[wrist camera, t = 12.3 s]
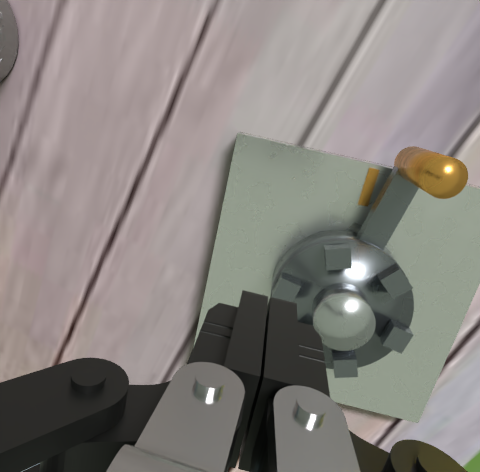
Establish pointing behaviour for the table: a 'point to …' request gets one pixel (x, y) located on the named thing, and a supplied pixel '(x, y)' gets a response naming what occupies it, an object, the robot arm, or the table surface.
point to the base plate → (352, 218)
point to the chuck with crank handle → (364, 269)
